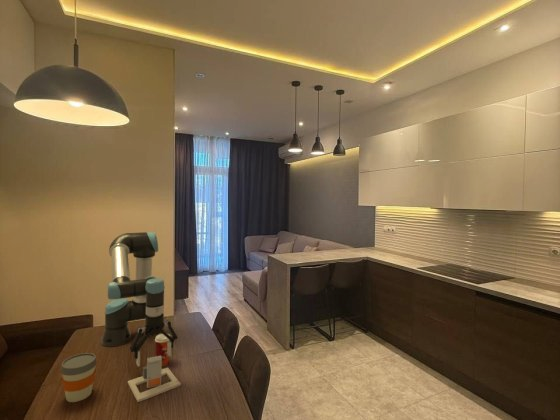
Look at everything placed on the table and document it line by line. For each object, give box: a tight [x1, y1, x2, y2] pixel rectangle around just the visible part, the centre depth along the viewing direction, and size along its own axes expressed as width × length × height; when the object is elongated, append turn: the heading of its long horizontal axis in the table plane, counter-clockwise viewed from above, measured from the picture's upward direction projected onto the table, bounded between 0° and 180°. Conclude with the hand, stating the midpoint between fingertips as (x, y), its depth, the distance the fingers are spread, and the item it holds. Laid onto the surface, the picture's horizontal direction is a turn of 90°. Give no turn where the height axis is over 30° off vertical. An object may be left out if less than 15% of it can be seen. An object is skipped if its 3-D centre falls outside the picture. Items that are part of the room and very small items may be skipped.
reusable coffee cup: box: [60, 352, 97, 403], centre depth 126 cm, size 13×13×15 cm
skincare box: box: [146, 355, 163, 389], centre depth 134 cm, size 6×4×12 cm
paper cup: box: [154, 333, 171, 367], centre depth 152 cm, size 8×8×14 cm
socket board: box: [127, 365, 181, 403], centre depth 135 cm, size 16×18×6 cm
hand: (154, 359), depth 135 cm, fingers open, 13 cm apart
